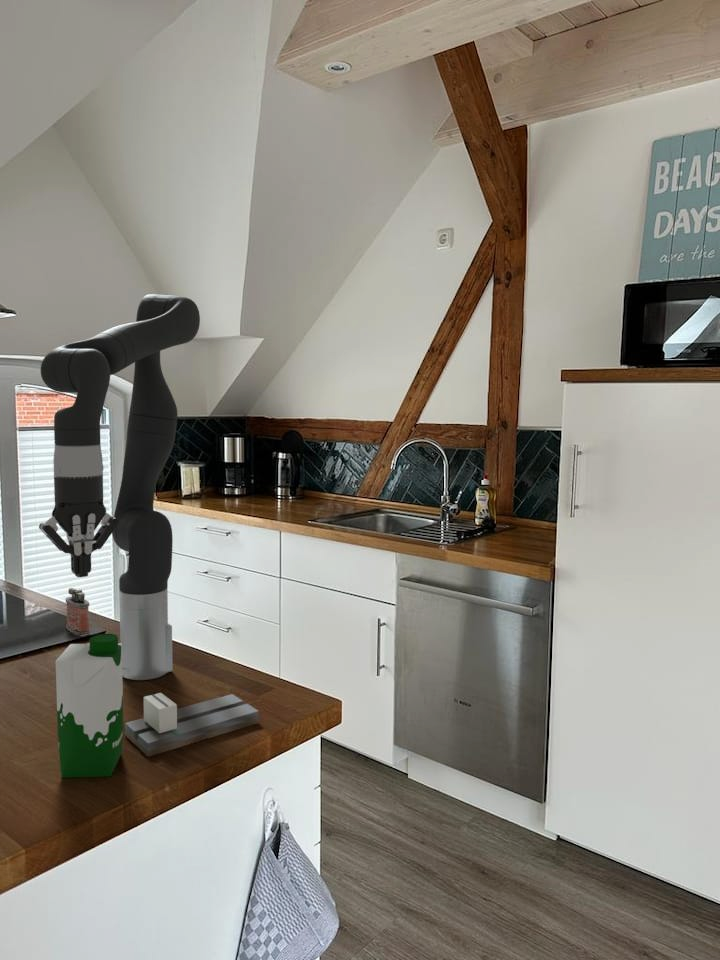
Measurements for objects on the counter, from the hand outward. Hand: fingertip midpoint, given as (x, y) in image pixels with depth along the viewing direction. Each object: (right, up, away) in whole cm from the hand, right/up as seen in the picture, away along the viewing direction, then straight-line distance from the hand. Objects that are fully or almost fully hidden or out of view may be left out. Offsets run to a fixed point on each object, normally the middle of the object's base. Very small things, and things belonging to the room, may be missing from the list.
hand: (81, 576), depth 126 cm
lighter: (-19, -20, +51) cm, 58 cm away
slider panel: (+18, -26, +2) cm, 32 cm away
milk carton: (+6, -28, -11) cm, 30 cm away
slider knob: (+14, -25, -2) cm, 29 cm away
